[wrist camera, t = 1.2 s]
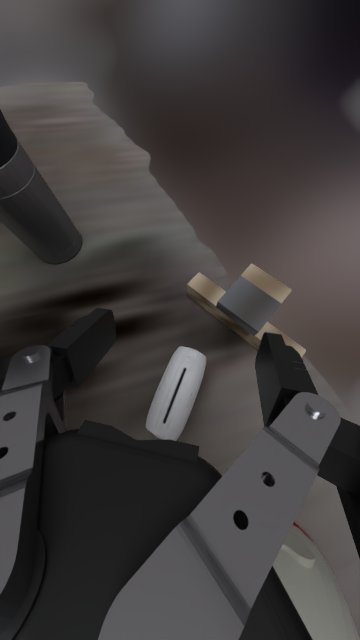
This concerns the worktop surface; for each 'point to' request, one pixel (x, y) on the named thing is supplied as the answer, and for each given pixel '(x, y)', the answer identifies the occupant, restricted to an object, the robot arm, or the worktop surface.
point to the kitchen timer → (313, 588)
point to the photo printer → (176, 394)
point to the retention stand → (244, 304)
